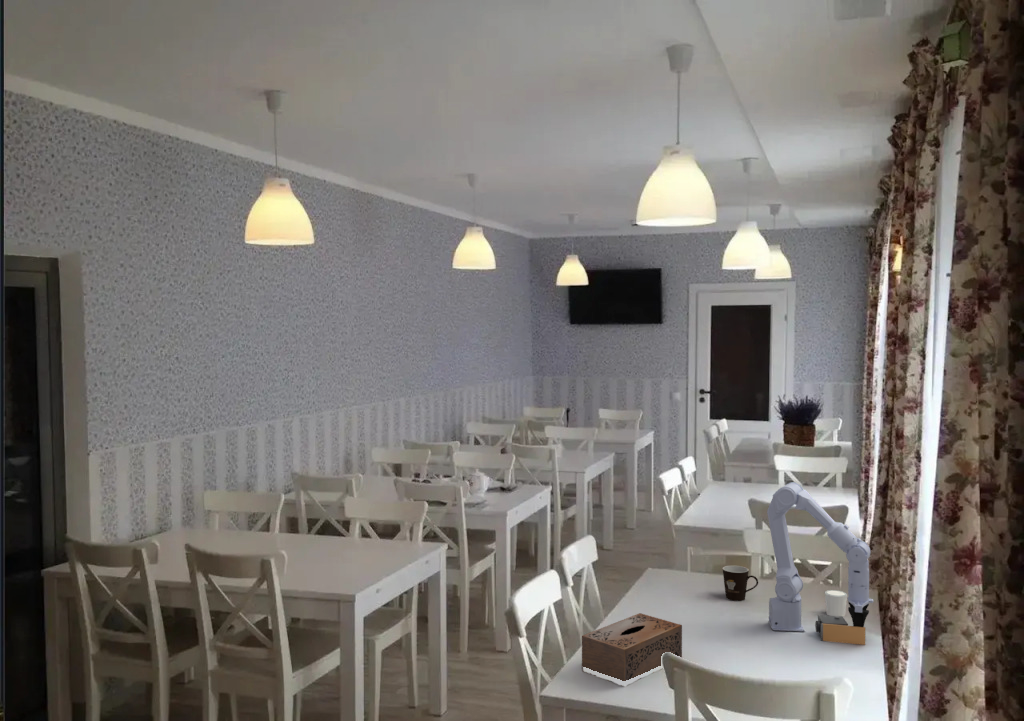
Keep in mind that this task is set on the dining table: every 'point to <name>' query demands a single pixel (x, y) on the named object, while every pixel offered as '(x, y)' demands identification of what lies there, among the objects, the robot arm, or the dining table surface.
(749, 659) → the dining table surface
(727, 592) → the coffee mug
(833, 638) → the side door
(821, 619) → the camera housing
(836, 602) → the white cup
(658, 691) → the dining table surface
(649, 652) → the tissue box cover
